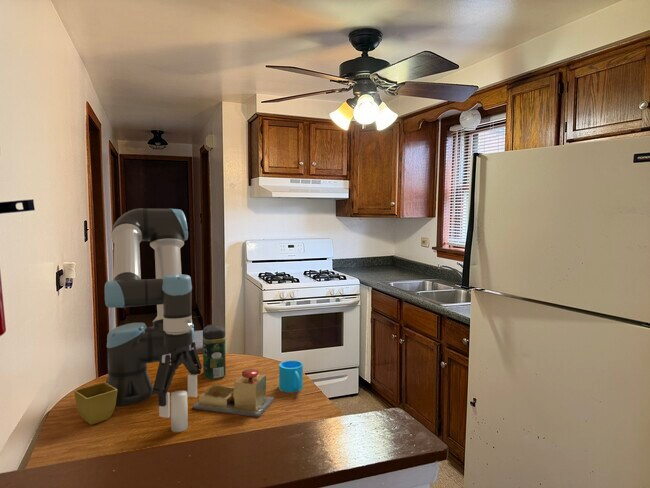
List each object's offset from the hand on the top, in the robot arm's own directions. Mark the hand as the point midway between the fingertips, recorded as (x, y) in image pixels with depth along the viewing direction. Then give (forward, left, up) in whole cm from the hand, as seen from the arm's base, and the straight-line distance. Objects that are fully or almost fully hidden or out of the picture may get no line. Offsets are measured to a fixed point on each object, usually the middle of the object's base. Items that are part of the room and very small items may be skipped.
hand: (179, 406), depth 122 cm
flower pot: (-26, -2, -7) cm, 27 cm away
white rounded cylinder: (0, 0, -7) cm, 7 cm away
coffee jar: (-10, +38, -7) cm, 40 cm away
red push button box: (+8, +18, -7) cm, 21 cm away
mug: (+22, +34, -7) cm, 41 cm away
